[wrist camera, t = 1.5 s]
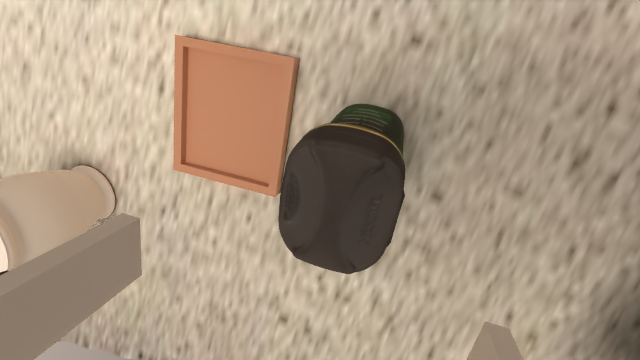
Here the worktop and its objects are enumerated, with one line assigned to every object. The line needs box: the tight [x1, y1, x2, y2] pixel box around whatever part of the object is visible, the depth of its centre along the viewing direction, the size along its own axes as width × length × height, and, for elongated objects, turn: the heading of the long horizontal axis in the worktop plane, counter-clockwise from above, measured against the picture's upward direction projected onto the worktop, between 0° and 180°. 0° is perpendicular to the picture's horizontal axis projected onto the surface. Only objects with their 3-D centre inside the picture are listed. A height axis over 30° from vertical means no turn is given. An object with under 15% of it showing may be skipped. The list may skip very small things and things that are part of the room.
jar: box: [0, 165, 115, 272], centre depth 40 cm, size 11×10×15 cm
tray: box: [174, 35, 300, 197], centre depth 37 cm, size 14×16×2 cm
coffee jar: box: [279, 104, 405, 274], centre depth 27 cm, size 10×8×19 cm
